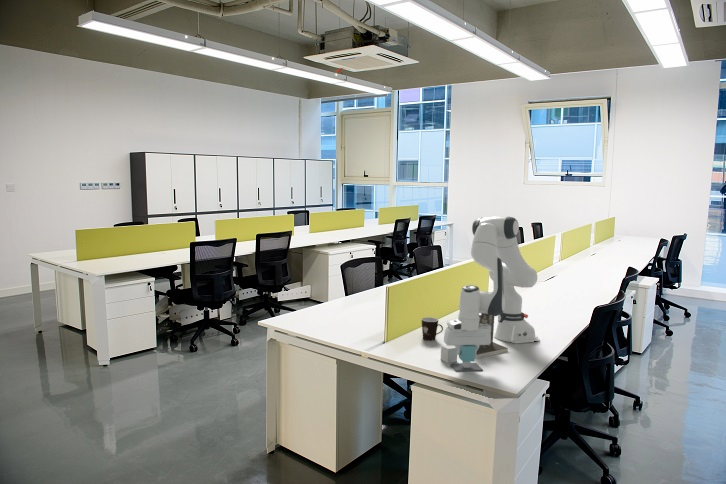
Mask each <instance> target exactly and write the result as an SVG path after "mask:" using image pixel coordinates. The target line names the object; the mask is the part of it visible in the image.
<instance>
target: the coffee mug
mask: <svg viewBox="0 0 726 484" xmlns="http://www.w3.org/2000/svg"><path fill="white" fill-rule="evenodd" d="M438 326H439V327H440V328H441V330H440V331H439V332H438V331H437V330H438ZM421 329H422V339H423V340H424V341H429V342H430V341H435V340H436V337H437V335H439V334H441V333H442V332H443V330H444V327H443V325H441V324H439V319H438V318H436V317H430V316H428V317H427V316H425V317H422V318H421Z"/></svg>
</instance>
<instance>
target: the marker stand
mask: <svg viewBox="0 0 726 484" xmlns="http://www.w3.org/2000/svg"><path fill="white" fill-rule="evenodd" d="M449 365H450V367H451V368H452V369H453V370H454V371H455V373H457V372H458V373H459V372H460V373H461V372H483V371H484V369H483V368H482V367H481V366H480V365H479V364H478V363H477V362H472V361H471V362H463V361H462V362H460V363H459V362H453V363H449Z"/></svg>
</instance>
